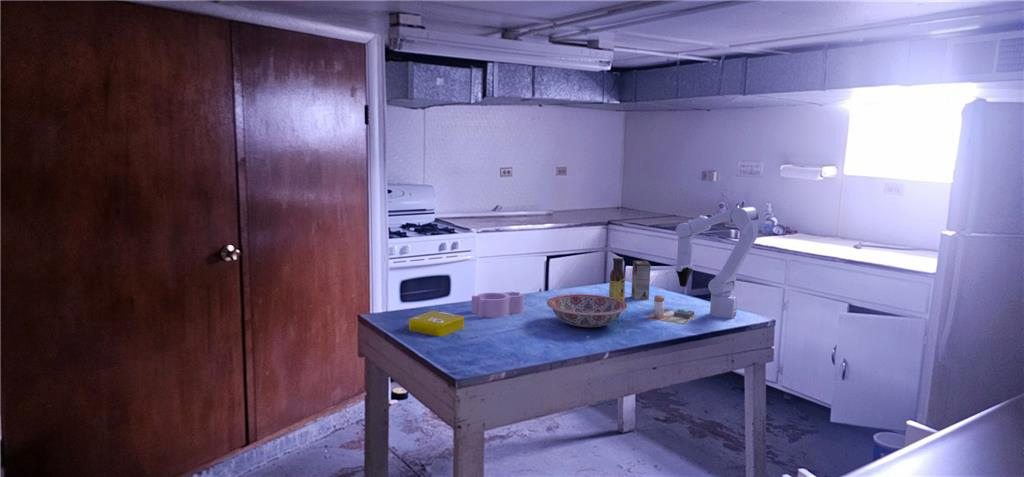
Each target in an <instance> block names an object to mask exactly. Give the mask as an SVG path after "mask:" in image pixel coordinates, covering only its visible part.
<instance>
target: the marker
mask: <svg viewBox="0 0 1024 477" xmlns="http://www.w3.org/2000/svg"><path fill="white" fill-rule="evenodd" d="M653 299H654V302H653V304H654V305H653V309H654V310H653V313H654V318H659V319H660V318H664V310H665V296H664V295H662V294H661V295H659V294H657V295H654V298H653Z"/></svg>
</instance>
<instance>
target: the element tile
mask: <svg viewBox="0 0 1024 477" xmlns="http://www.w3.org/2000/svg"><path fill="white" fill-rule="evenodd" d="M461 329H465V317H464V315H461V314H460V315H459V314H453V313H450V312H444V311H437V310H431V311H427V312H425V313H422V314H419V315H416V316H413V317H410V318H409V319H408V330H409V331H411V332H415V333H416V332H417V333H419V334H426V335H430V336H435V337H444V336H446V335H449V334H451V333H454V332H457V331H460V330H461Z"/></svg>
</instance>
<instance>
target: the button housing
mask: <svg viewBox="0 0 1024 477" xmlns="http://www.w3.org/2000/svg"><path fill="white" fill-rule="evenodd" d="M680 309H681V308H678V309H676V310H675V311H674V316H675V317H682V318H688V319H690V318H691V317H692V316H694V315H695V310H689V309H688V310H689V312H688V314H687V313H681V312H680Z"/></svg>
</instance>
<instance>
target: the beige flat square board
mask: <svg viewBox="0 0 1024 477" xmlns="http://www.w3.org/2000/svg"><path fill="white" fill-rule="evenodd" d="M674 312H675V311H673V310H667V309H666V310H665V309H664V318H660V319H659V318H654V312H653V313H651V314H650V315H648V316H647V317H645V319H646V320H654V321H660V322H666V323H672V324H679V325H684V326H685V325H686V324H687V323H689V322H690V321H691V320H693V319H695V317H697V316H698V315H697V314H694V316H692V317H691V318H690V319H688V318H682V317H675V316H674Z"/></svg>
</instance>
